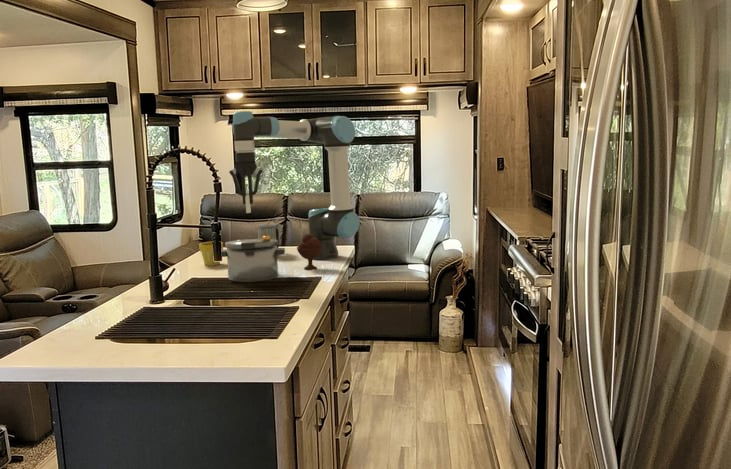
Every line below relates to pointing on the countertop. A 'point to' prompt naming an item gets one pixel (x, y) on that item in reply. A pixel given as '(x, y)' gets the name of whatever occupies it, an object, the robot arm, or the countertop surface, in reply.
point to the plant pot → (208, 253)
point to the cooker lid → (252, 243)
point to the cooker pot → (252, 263)
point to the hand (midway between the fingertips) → (248, 212)
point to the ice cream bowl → (309, 249)
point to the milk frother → (268, 232)
